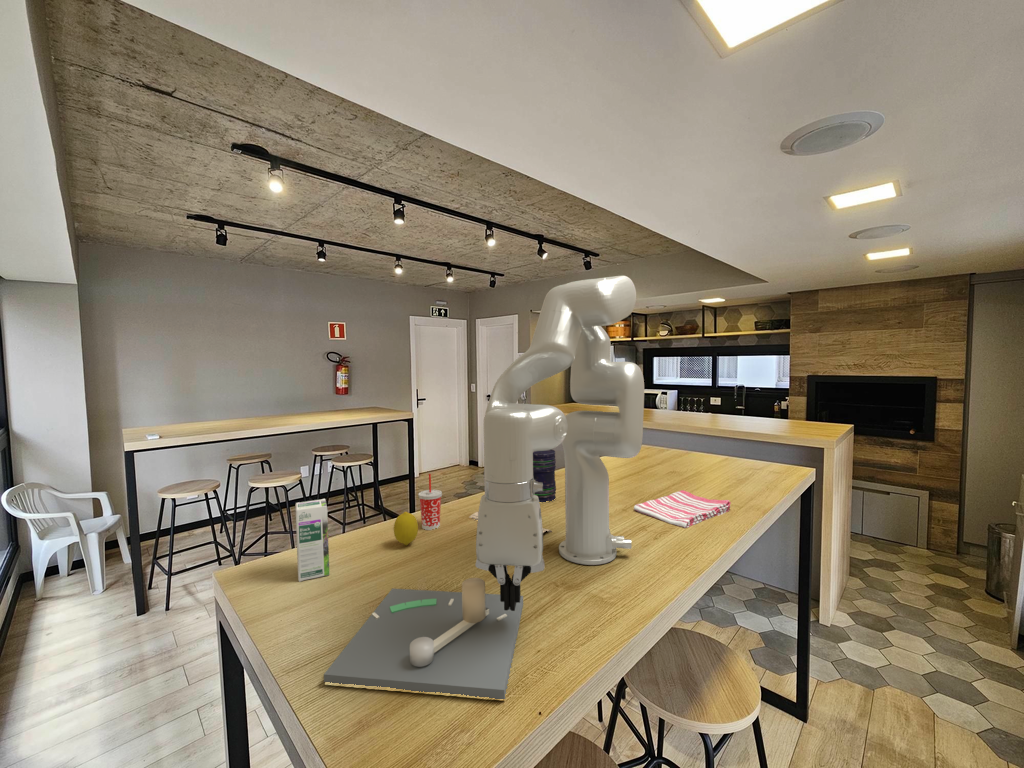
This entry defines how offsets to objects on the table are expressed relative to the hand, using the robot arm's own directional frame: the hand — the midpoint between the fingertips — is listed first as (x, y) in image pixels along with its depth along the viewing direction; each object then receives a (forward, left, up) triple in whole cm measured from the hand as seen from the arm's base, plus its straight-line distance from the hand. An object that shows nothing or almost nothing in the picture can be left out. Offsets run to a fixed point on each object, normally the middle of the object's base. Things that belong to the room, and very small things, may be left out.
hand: (510, 605), depth 67 cm
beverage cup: (+27, -42, -5) cm, 50 cm away
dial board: (+11, +3, -4) cm, 12 cm away
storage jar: (0, -69, -5) cm, 69 cm away
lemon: (+29, -30, -5) cm, 42 cm away
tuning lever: (+8, +5, -3) cm, 10 cm away
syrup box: (+43, -15, -5) cm, 46 cm away
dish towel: (-41, -61, -5) cm, 74 cm away
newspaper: (+6, -46, -5) cm, 47 cm away
